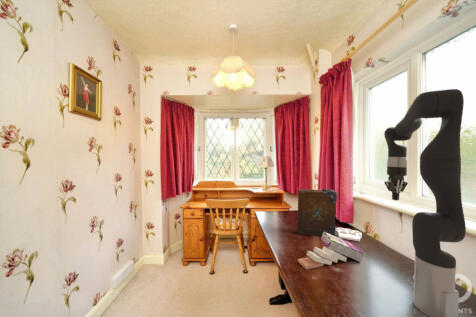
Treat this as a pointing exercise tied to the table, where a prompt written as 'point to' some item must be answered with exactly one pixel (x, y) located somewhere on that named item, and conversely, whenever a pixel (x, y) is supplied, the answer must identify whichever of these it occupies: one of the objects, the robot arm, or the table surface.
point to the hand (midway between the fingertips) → (395, 199)
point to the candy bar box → (341, 246)
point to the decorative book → (316, 211)
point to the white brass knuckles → (348, 234)
